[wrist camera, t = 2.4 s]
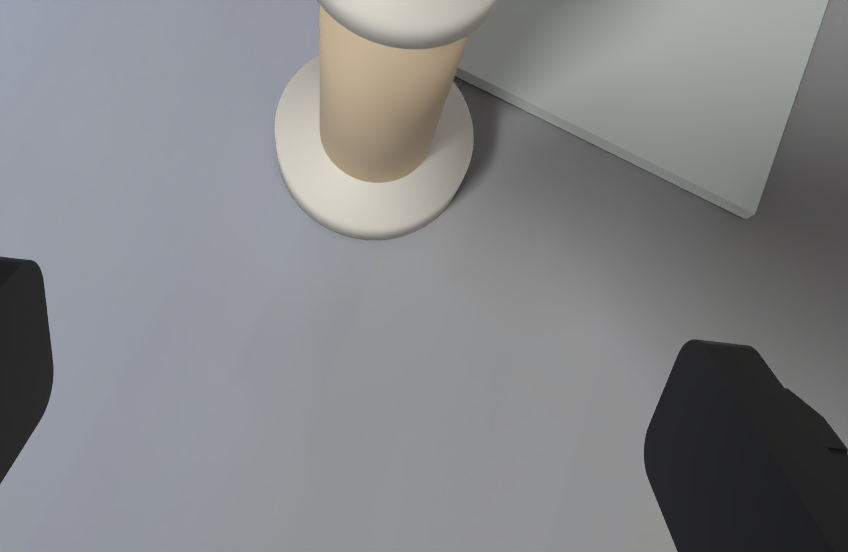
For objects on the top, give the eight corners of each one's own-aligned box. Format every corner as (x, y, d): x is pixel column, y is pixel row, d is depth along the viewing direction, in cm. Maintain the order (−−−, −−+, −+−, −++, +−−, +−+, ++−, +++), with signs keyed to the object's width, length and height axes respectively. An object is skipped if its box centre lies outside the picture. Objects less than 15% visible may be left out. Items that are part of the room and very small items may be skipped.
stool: (242, 187, 24) (182, -29, 13) (330, 37, 26) (339, -259, 15) (417, 272, 24) (494, 124, 13) (492, 117, 26) (612, -121, 15)
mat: (446, 72, 26) (449, 62, 25) (567, -161, 29) (572, -173, 29) (745, 219, 26) (755, 213, 26) (831, -29, 30) (841, -38, 29)
